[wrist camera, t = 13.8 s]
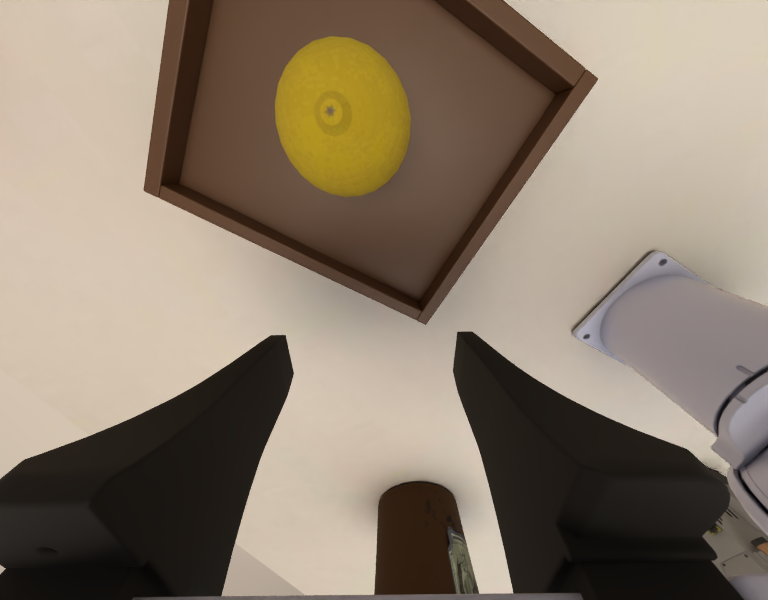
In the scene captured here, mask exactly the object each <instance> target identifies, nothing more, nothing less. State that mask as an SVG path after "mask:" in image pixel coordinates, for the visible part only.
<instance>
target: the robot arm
mask: <svg viewBox="0 0 768 600" xmlns="http://www.w3.org/2000/svg"><path fill="white" fill-rule="evenodd" d="M661 260H662V261H661ZM660 261H661V262H660ZM659 262H660V263H659ZM573 335H574V336H575V337H576V338H577V339H579V340H581V341H583V342H584V343H586V344H588V345H590V346H592V347H594V348H596V349H598V350H599V351H601V352H603V353H605V354H607V355H609V356H611V357H613V358H614V359H616V360H618V361H620V362H622V363H624V364H626V365H627V366H629V367H631V368H632V369H634V370H635V371H636V372H637V373H638V374H640V375H641V376H642V377H643V378H645V379H646V380H647V381H648V382H650V383H651V384H652V385H653V386H655V387H656V388H657V389H658V390H660V391H661V392H662V393H663V394H665V395H666V396H667V397H668V398H669V399H671V400H672V401H673V402H674V403H676V404H677V405H678V406H679V407H681V408H682V409H683V410H684V411H686V412H687V413H688V414H689V415H691V416H692V417H693V418H694V419H695V420H697V421H698V422H699V423H700V424H702V425H703V426H704V427H705V428H707V429H708V430H709V431H710V432H712V433H713V434H714V435H715V436H717V437H718V438H717V440H716V442H715V443H714V444H713V445H712V446H711V449H712V450H714V451H715V452H716V453H717V454H718V455H719V456H721V457H722V458H723V459H724V460H725V461H726V462H728V463H729V464H730V465H731V467H730V468H729V470H728V472H727V480H728V483H729V486H730V488H731V489H732V491H733V493H734V495H735V496H736V498H737V499H738V500H739V502H740V503H741V505H742V507H743V508H744V510H745V511H746V512H747V514H748V515H749V516H750V517H751V518H752V520H753V521H754V522H755V523H756V524H757V525H758V526H759V527H760V528H761V529H762V530H763V532H765V533H766V534H767V535H768V307H767V306H765V305H762V304H759V303H756V302H754V301H751V300H748V299H745V298H743V297H740V296H737V295H734V294H731V293H729V292H726V291H723V290H720V289H718V288H715V287H713V286H711V285H710V284H708V283H707V282H706V281H704V280H703V279H701V278H700V277H698V276H697V275H695V274H694V273H692V272H691V271H690V270H688V269H687V268H685V267H684V266H682V265H681V264H679V263H678V262H676V261H675V260H674V259H672V258H671V257H669V256H668V255H666V254H665V253H663V252H660V251H654V252H651V253H650V254H649V255H648V256H647V257H646V258H645V259H644V260H643V261H642V262H641V263H640V264H639V265H638V266H637V267H636V268H635V269H634V270H633V271H632V272H631V273H630V274H629V275H628V276H627V277H626V278H625V279H624V280H623V281H622V282H621V283H620V284H619V285H618V286H617V287H616V288H615V289H614V290H613V291H612V292H611V293H610V294H609V295H608V296H607V297H606V298H605V299H604V300H603V301H602V302H601V303H600V304H599V305H598V306H597V307H596V308H595V309H594V310H593V311H592V312H591V313H590V314H589V315H588V316H587V318H586V319H585V320H584V321H583V322H582V323H581V324H580V325H579V326H578V327H577V328H576V329H575V330H574V331H573ZM584 335H586V336H584ZM453 373H454V377H455V382H456V386H457V390H458V394H459V396H460V399H461V402H462V405H463V407H464V410H465V413H466V415H467V418H468V421H469V423H470V426H471V428H472V431H473V434H474V436H475V439H476V442H477V445H478V448H479V451H480V454H481V457H482V461H483V465H484V468H485V472H486V476H487V480H488V483H489V487H490V491H491V495H492V499H493V503H494V507H495V511H496V516H497V520H498V524H499V529H500V533H501V537H502V541H503V546H504V550H505V555H506V560H507V564H508V569H509V574H510V578H511V583H512V588H513V593H514V594H416V595H314V596H223V597H222V596H221V595H222V591H223V587H224V583H225V579H226V575H227V571H228V567H229V563H230V559H231V555H232V551H233V547H234V544H235V541H236V537H237V533H238V530H239V526H240V523H241V519H242V515H243V512H244V509H245V505H246V502H247V499H248V496H249V492H250V489H251V486H252V483H253V480H254V477H255V474H256V470H257V467H258V464H259V461H260V458H261V456H262V453H263V451H264V448H265V446H266V443H267V441H268V439H269V437H270V434H271V432H272V430H273V428H274V425H275V423H276V421H277V419H278V416H279V414H280V412H281V409H282V407H283V405H284V402H285V400H286V398H287V395H288V392H289V389H290V385H291V382H292V378H293V374H294V372H293V368H292V363H291V358H290V354H289V349H288V344H287V340H286V335H271V336H269V337H268V338H266V339H265V340H263V341H262V342H260V343H259V344H257V345H256V346H255V347H253V348H252V349H250V350H249V351H248V352H246V353H245V354H243V355H242V356H240V357H239V358H238V359H236V360H235V361H233V362H232V363H230V364H229V365H227V366H226V367H224V368H223V369H221V370H220V371H218V372H217V373H215V374H214V375H212V376H211V377H209V378H207V379H206V380H204V381H203V382H201V383H199V384H198V385H196V386H194V387H193V388H191V389H189V390H187V391H185V392H184V393H182V394H180V395H178V396H176V397H174V398H173V399H171V400H169V401H167V402H165V403H163V404H160V405H158V406H156V407H154V408H152V409H150V410H148V411H146V412H144V413H142V414H140V415H138V416H136V417H133V418H131V419H129V420H127V421H124V422H122V423H120V424H118V425H115V426H113V427H110V428H108V429H106V430H103V431H101V432H98V433H96V434H93V435H91V436H88V437H86V438H83V439H81V440H78V441H75V442H73V443H70V444H67V445H64V446H61V447H59V448H56V449H53V450H50V451H48V452H45V453H42V454H39V455H37V456H34V457H31V458H28V459H25V460H24V461H22V462H21V463H19V464H18V465H17V466H16V467H14V468H13V469H12V470H11V471H10V472H9V473H7V474H6V475H5V476H3V477H2V478H1V479H0V565H1V566H3V567H4V568H6V569H5V570H4V571H3V572H2V573H1V574H0V600H768V573H757V574H739V575H735V576H731V577H728V578H727V579H726V578H725V576H724V575H723V574H722V573H721V572H720V570H719V569H718V568H717V567H716V566H715V564H714V563H713V562H712V561H714V560H716V559H717V558H718V557H717V554H716V552H715V551H714V550H713V548H712V547H711V546H710V545H709V544H708V543H707V541H706V540H705V539H704V538H703V537H702V536H703V535H704V534H705V533H706V532H707V531H708V530H709V529H710V528H711V527H712V526H713V525H714V524H715V522H716V521H717V520H718V519H719V518H720V517H721V516H722V515H723V514H724V512H725V511H726V510H727V508H728V507H729V503H730V492H729V490H728V487H727V486H726V485H725V484H724V483H723V482H722V481H721V480H720V479H719V478H718V477H717V476H715V475H714V474H713V473H712V472H711V471H710V470H709V469H708V468H707V467H706V466H705V465H704V464H703V463H702V462H700V461H699V460H698V459H697V458H696V457H695V456H694V455H693V454H692V453H691V452H690V451H689V450H687V449H685V448H682V447H680V446H677V445H674V444H672V443H669V442H666V441H664V440H661V439H658V438H656V437H653V436H651V435H648V434H645V433H643V432H640V431H637V430H635V429H633V428H630V427H628V426H626V425H623V424H621V423H619V422H616V421H614V420H612V419H609V418H607V417H605V416H603V415H601V414H598V413H596V412H594V411H592V410H590V409H588V408H586V407H584V406H582V405H580V404H578V403H576V402H574V401H572V400H570V399H568V398H567V397H565V396H563V395H561V394H559V393H557V392H556V391H554V390H552V389H551V388H549V387H547V386H546V385H544V384H542V383H541V382H539V381H537V380H536V379H534V378H533V377H531V376H530V375H528V374H527V373H525V372H524V371H523V370H521V369H520V368H518V367H517V366H515V365H514V364H513V363H511V362H510V361H509V360H507V359H506V358H505V357H503V356H502V355H501V354H500V353H498V352H497V351H496V350H495V349H493V348H492V347H491V346H490V345H488V344H487V343H486V342H485V341H483V340H482V339H481V338H480V337H479V336H477V335H476V334H475V333H473V332H457V340H456V349H455V358H454V366H453Z"/></svg>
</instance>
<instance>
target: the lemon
mask: <svg viewBox="0 0 768 600" xmlns="http://www.w3.org/2000/svg"><path fill="white" fill-rule="evenodd" d="M275 118H276V126H277V130H278V134H279V138H280V142H281V144H282V146H283V148H284V150H285V152H286V154H287V156H288V158H289V160H290V162H291V163H292V164H293V165H294V167H295V168H296V169H297V170H298V172H299V173H300V174H301V175H302V176H303V177H304V178H305V179H306V180H308V181H309V182H310V183H311V184H313V185H314V186H315V187H317V188H319V189H321V190H323V191H325V192H327V193H329V194H333V195H338V196H343V197H353V196H362V195H365V194H368V193H370V192H373V191H376V190H377V189H378V188H380V187H381V186H383V185H384V184H386V183H387V182H388V181H389V180H390V179H391V177H392V176H393V175H394V174H395V173H396V172H397V171H398V169H399V167H400V165H401V163H402V161H403V159H404V157H405V155H406V151H407V147H408V143H409V139H410V126H411V116H410V111H409V105H408V100H407V95H406V93H405V91H404V88H403V86H402V84H401V81H400V79H399V77H398V75H397V74H396V73H395V71H394V70H393V68H392V67H391V66H390V64H389V63H388V62H387V60H386V59H385V58H384V57H382V56H381V55H380V54H379V53H378V52H376V51H375V50H374V49H373V48H371V47H370V46H369V45H367V44H364V43H362V42H360V41H357V40H355V39H352V38H348V37H335V36H330V37H326V38H322V39H318V40H314V41H312V42H311V43H309V44H308V45H306V46H305V47H303V48H302V49H300V50H299V51H298V52H297V53H296V54H295V55H294V57H293V58H292V59H291V60H290V61H289V63H288V64H287V65H286V67H285V69H284V72H283V74H282V76H281V78H280V81H279V83H278V88H277V93H276V99H275Z"/></svg>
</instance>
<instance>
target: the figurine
mask: <svg viewBox="0 0 768 600" xmlns="http://www.w3.org/2000/svg"><path fill="white" fill-rule="evenodd" d="M710 471H711V472H712V473H713V474H714V475H715V476H717V477H718V478H719V479H720V480H721V481H722V482H723V483H724V484H725V485H726V486H727V487H728V490H729V492H730V503H729V507H728V508H727V510H726V511H725V512H724V514H723V515H722V516H721V517H720V518H719V519H718V520H717V521H716V522H715V524H714V525H713V526H712V527H711V528H710V529H709V530H708V531H707V532H706V533H705V534H704V535H703V536H702V537H703V538H704V539H705V540H706V541H707V543H708V544H709V545H710V546H711V547H712V548H713V550H714V551H715V552H716V554H717V557H718V558H717V559H716V560H714V561H712V562H713V563H714V564H715V566H716V567H717V568H718V569H719V570H720V572H721V573H722V574H723V575H724V576H725V578H726V579H727V578H728V577H731V576H735V575H739V574H757V573H768V535H767V534H766V533H765V532H763V530H762V529H761V528H760V527H759V526H758V525H757V524H756V523H755V522H754V521H753V520H752V518H751V517H750V516H749V515H748V514H747V512H746V511H745V510H744V508H743V507H742V505H741V503H740V502H739V500H738V499H737V498H736V496H735V495H734V493H733V491H732V489H731V488H730V486H729V483H728V480H727V477H726V476H724V475H721V474H720V473H719V472H715V471H714V470H710Z"/></svg>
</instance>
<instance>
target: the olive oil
mask: <svg viewBox="0 0 768 600" xmlns="http://www.w3.org/2000/svg"><path fill="white" fill-rule="evenodd" d="M416 594H479V591H478V587H477V583H476V580H475V576H474V572H473V568H472V564H471V560H470V556H469V552H468V548H467V544H466V540H465V537H464V533H463V529H462V524H461V520H460V516H459V512H458V508H457V504H456V501H455V498H454V496H453V495H452V494H451V493H450V492H449V491H448V490H447V489H445V488H443V487H441V486H438V485H435V484H431V483H422V482H416V483H407V484H403V485H400V486H397V487H394V488H392V489H391V490H389V491H388V492H386V493H385V494H384V495H383V496H382V498H381V499H380V502H379V506H378V529H377V555H376V575H375V594H374V595H416Z"/></svg>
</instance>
